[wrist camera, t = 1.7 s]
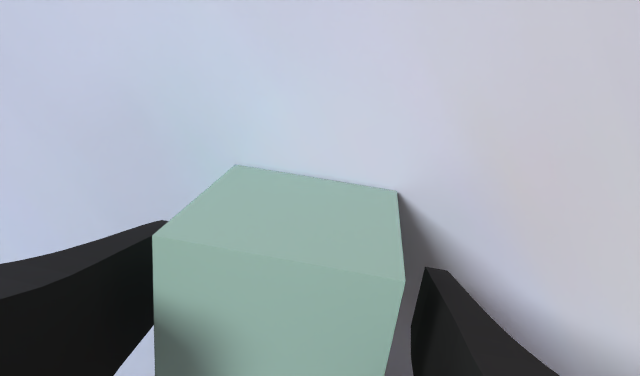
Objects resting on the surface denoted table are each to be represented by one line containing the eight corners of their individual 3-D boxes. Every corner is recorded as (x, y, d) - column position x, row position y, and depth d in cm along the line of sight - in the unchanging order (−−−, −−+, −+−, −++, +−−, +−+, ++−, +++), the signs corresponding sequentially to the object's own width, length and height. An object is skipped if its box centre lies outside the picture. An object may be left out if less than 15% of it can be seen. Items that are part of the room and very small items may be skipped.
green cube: (227, 299, 15) (155, 421, 10) (234, 164, 13) (152, 235, 8) (369, 326, 14) (362, 467, 10) (396, 191, 12) (405, 281, 8)
